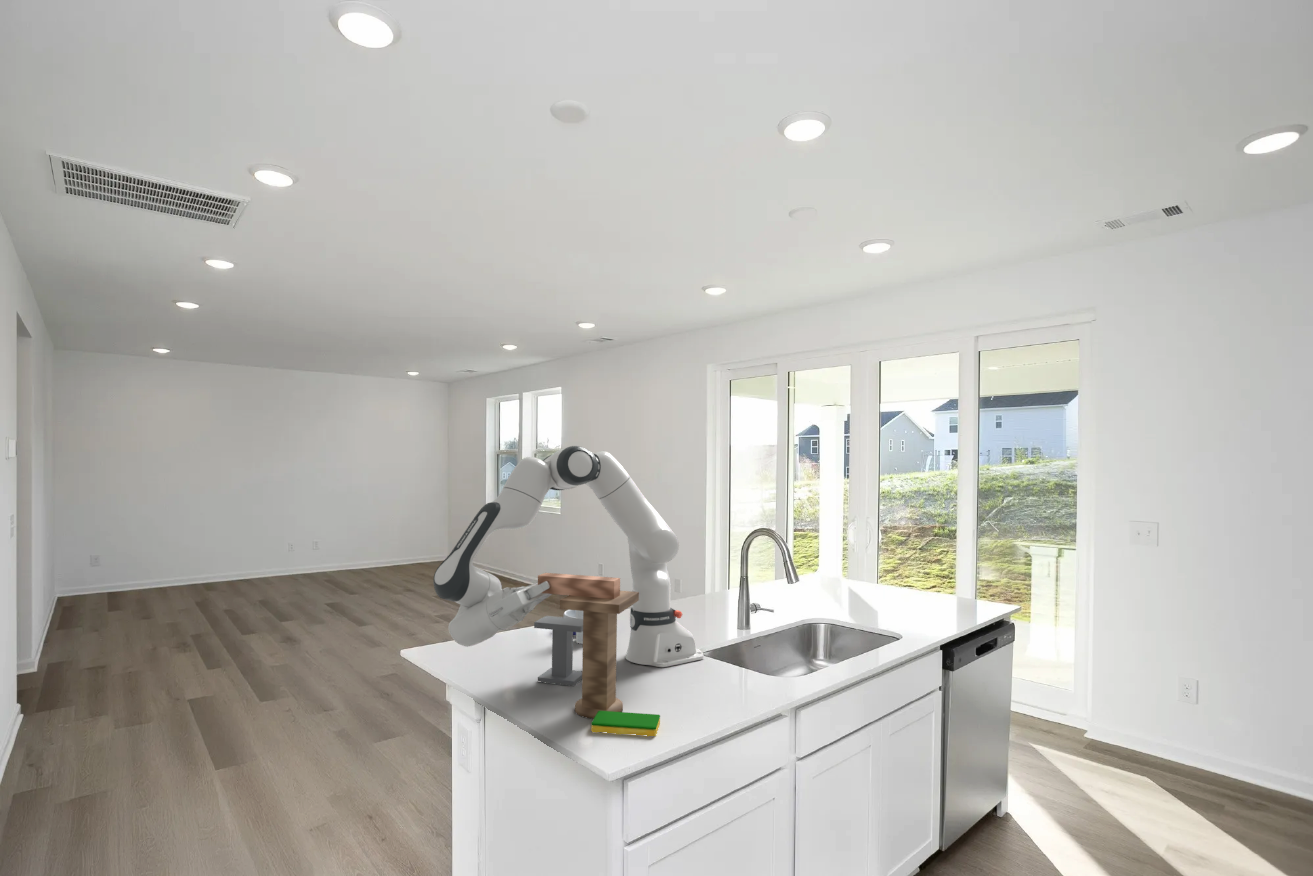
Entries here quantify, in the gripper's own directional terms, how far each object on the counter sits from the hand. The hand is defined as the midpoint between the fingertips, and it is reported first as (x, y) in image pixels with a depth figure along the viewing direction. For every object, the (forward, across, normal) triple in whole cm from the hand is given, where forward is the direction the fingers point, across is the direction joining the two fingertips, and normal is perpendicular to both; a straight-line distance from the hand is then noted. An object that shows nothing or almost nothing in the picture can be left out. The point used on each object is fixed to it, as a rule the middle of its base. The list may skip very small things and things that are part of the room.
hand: (554, 581), depth 158 cm
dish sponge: (+4, -8, +36) cm, 37 cm away
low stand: (-18, +16, +22) cm, 33 cm away
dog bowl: (-29, +62, +17) cm, 71 cm away
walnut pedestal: (-4, 0, +30) cm, 31 cm away
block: (+4, 0, +5) cm, 7 cm away
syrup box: (-24, +50, +19) cm, 58 cm away
